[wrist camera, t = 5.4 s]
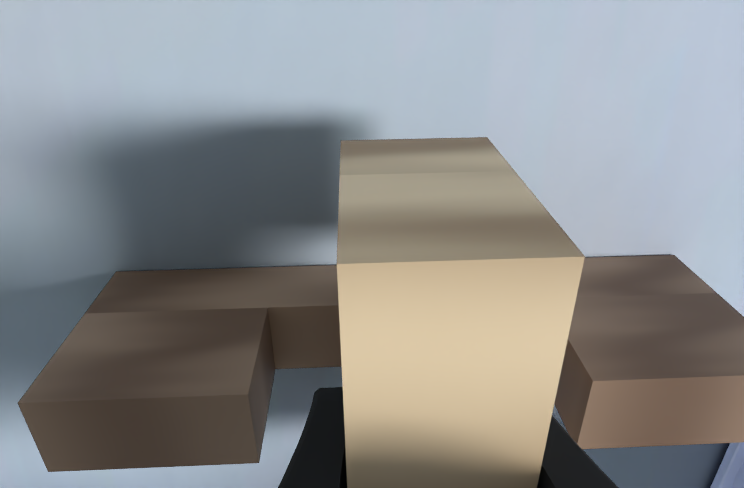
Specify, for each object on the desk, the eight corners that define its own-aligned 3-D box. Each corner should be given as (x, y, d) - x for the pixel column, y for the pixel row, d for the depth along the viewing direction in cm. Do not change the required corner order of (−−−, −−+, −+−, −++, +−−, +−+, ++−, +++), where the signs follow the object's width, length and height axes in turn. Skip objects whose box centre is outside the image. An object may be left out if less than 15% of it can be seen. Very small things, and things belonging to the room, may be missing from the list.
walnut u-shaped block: (674, 254, 15) (806, 372, 11) (656, 311, 16) (773, 440, 12) (115, 271, 15) (17, 403, 10) (132, 328, 16) (47, 472, 11)
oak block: (340, 140, 11) (337, 264, 6) (487, 137, 11) (585, 257, 6) (353, 473, 15) (356, 678, 11) (455, 469, 15) (498, 670, 11)
